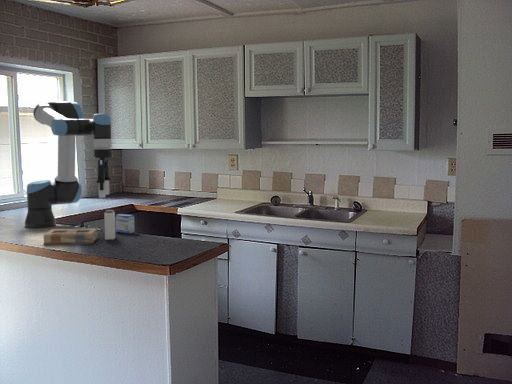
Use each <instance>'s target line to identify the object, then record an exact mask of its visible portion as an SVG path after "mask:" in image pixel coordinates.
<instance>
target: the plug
mask: <svg viewBox="0 0 512 384" xmlns="http://www.w3.org/2000/svg"><path fill="white" fill-rule="evenodd" d="M103 215H104V217H103V218H104V240H115V238H116V215H115V211H114V209H106V210H105V212H104V213H103Z"/></svg>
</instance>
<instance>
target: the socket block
mask: <svg viewBox="0 0 512 384" xmlns="http://www.w3.org/2000/svg"><path fill="white" fill-rule="evenodd" d="M97 239H98V228H97V227H96V228H93V227H92V228H52V229H50V230H48V231H47V232H46V233H44V234H43V246H61V245H62V246H63V245H65V246H67V245H92V244H94V243H95V241H96V240H97Z"/></svg>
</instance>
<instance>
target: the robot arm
mask: <svg viewBox="0 0 512 384" xmlns="http://www.w3.org/2000/svg"><path fill="white" fill-rule="evenodd" d="M32 113H33V117H34V120H35V121H37V122H38V123H39V124H41V125H46V126H48V127H49V128H50V129H51V133H52V134H53V135H54V136H57V176H55V177H54V182H52V181H51V180H50V179H43V180H37V181H36V180H35V181H31V182H29V183H28V184H27V186H26V202H27V214H26V216H25V220H24V227H25V228H29V229H30V228H31V229H35V228H36V229H38V228H39V229H41V228H49V227H53V226H54V227H55V226H57V220H56V218H55V215H54V213H53V208H52V205H65V204H66V205H67V204H69V205H70V204H76V203H78V202H79V201H80V199H81V196H82V192H83V189H82V183H81V182H80V180H78V178H77V176H76V136H77V137H78V136H84V137H86V136H87V137H88V136H89V137H93V140H92V144H93V147H94V150H93V155H94V156H93V157H94V158H96V159H97V158H98V160H97V164H98V165H97V166H98V167H97V180H96V184H98V199H104V198H106V195H107V196H108V195H110V181H111V177H110V171H109V159H110V158H112V154H113V153H112V149H111V148H112V121H111V115H110V114H109V113H94V114H93V116H92V118H84V113H83V109H82V107H81V105H80V104H79V103H78V102H76V101H69V100H68V101H66V100H65V101H63V100H44V101H42V102H39V103H37V104H36V105H35V107H34V109H33V112H32Z"/></svg>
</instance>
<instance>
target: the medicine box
mask: <svg viewBox="0 0 512 384" xmlns="http://www.w3.org/2000/svg"><path fill="white" fill-rule="evenodd" d="M116 232H123V233H122V234H129V233H130V234H133V233H135V214H125V213H124V214H123V213H121V214H120V213H119V214H118V213H117V214H116V215H115V233H116Z"/></svg>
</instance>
